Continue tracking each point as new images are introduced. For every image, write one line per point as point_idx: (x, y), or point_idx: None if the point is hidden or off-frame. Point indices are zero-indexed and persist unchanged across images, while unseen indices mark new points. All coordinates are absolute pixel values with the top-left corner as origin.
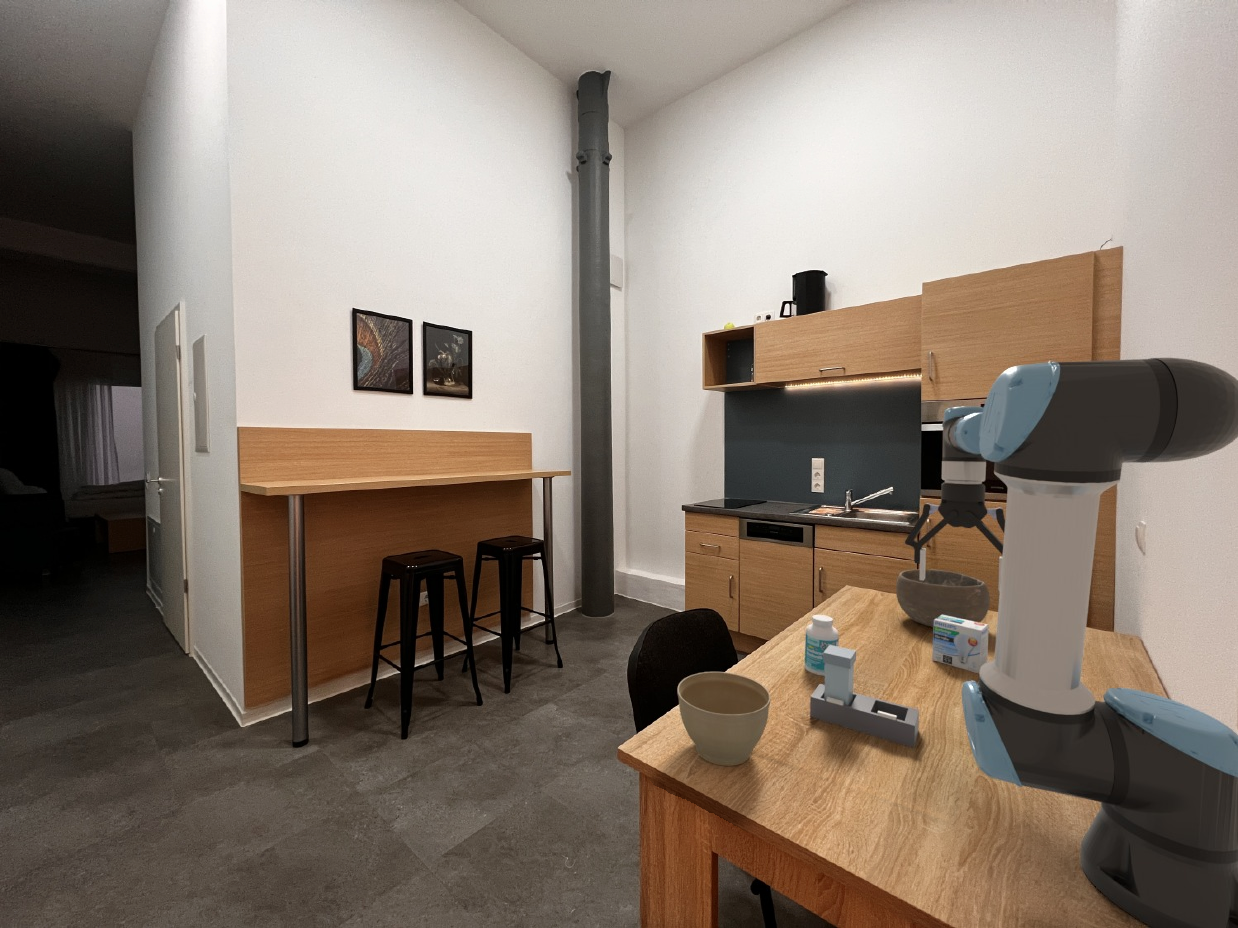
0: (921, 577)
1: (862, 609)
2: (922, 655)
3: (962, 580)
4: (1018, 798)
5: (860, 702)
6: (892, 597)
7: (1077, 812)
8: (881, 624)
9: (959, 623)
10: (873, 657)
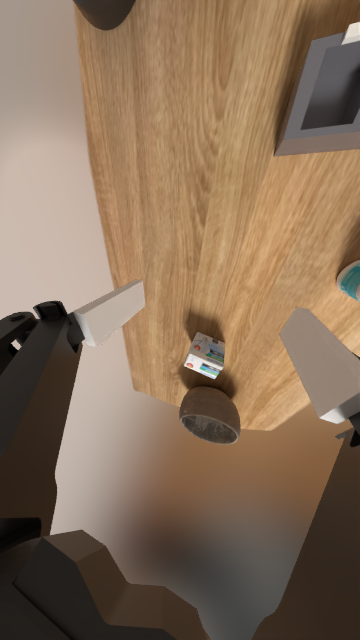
0: (305, 312)
1: (260, 412)
2: (230, 348)
3: (192, 428)
4: (195, 56)
5: None
6: None
7: (153, 83)
8: (251, 391)
9: (203, 363)
10: (274, 334)
